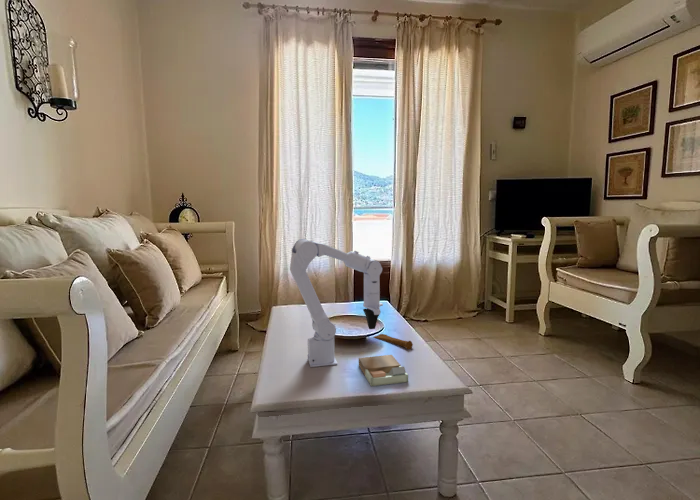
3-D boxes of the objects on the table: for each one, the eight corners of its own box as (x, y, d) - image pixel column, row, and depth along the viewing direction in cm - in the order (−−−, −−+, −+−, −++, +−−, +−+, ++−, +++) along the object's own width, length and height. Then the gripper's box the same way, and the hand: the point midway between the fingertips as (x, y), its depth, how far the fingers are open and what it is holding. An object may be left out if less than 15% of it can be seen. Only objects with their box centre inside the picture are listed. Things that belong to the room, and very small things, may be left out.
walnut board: (365, 376, 128) (365, 368, 127) (358, 365, 136) (358, 358, 136) (400, 372, 130) (400, 365, 130) (391, 361, 139) (391, 354, 139)
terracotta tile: (369, 371, 126) (370, 378, 126) (373, 374, 122) (373, 380, 122) (381, 370, 127) (382, 376, 126) (385, 372, 123) (386, 379, 123)
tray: (371, 386, 121) (371, 379, 121) (365, 376, 128) (365, 369, 127) (408, 382, 124) (408, 374, 123) (400, 372, 130) (400, 365, 130)
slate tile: (389, 372, 126) (390, 378, 125) (392, 367, 123) (393, 374, 122) (400, 371, 127) (402, 377, 126) (404, 366, 124) (405, 372, 123)
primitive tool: (372, 338, 164) (372, 330, 163) (382, 335, 167) (382, 327, 167) (407, 351, 149) (407, 342, 149) (417, 348, 153) (417, 339, 152)
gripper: (388, 296, 136) (388, 334, 138) (376, 287, 151) (376, 321, 152) (368, 297, 135) (369, 335, 137) (358, 288, 149) (358, 323, 151)
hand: (371, 328), depth 144 cm, fingers closed
